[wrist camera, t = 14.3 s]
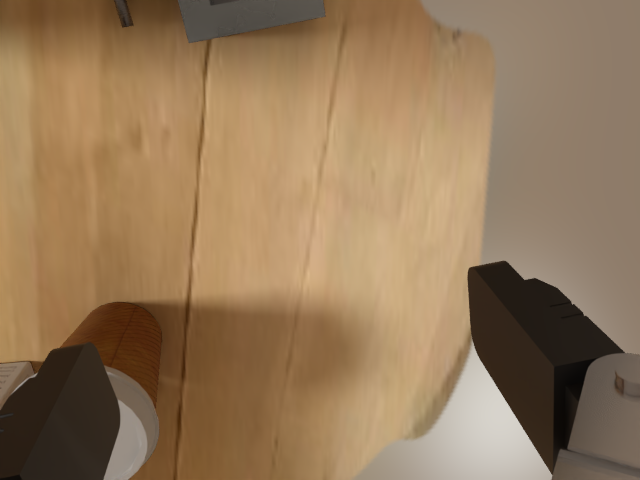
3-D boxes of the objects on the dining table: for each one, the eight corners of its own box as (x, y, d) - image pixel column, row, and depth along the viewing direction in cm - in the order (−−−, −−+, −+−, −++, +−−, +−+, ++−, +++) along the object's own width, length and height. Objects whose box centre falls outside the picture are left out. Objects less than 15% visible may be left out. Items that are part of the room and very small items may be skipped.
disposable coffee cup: (121, 401, 48) (77, 521, 37) (35, 328, 44) (-42, 436, 33) (206, 342, 46) (187, 448, 35) (124, 261, 43) (74, 350, 32)
